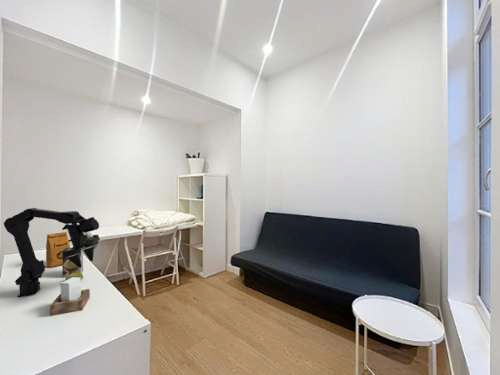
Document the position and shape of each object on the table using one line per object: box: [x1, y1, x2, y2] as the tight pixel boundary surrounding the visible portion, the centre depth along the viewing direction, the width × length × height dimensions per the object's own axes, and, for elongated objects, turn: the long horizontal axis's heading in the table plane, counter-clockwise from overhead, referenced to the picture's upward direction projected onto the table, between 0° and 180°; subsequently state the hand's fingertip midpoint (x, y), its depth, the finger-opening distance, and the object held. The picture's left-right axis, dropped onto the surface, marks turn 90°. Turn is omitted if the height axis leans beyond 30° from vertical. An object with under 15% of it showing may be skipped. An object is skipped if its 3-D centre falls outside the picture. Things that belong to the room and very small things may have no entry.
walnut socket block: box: [49, 288, 91, 317], centre depth 98 cm, size 11×11×4 cm
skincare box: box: [60, 277, 82, 302], centre depth 98 cm, size 6×4×12 cm
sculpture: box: [64, 273, 84, 281], centre depth 124 cm, size 8×4×8 cm
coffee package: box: [45, 231, 71, 268], centre depth 150 cm, size 10×12×22 cm
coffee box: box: [61, 247, 84, 278], centre depth 134 cm, size 9×6×16 cm
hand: (86, 264), depth 113 cm, fingers open, 9 cm apart
